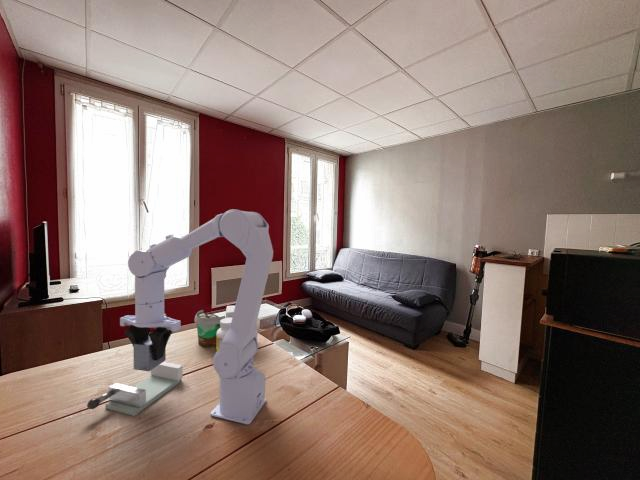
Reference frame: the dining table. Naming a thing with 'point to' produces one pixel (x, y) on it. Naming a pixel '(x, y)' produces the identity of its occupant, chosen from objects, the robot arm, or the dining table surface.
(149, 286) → the robot arm
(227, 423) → the dining table surface
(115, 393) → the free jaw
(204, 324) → the food container
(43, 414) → the dining table surface
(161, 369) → the base
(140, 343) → the block
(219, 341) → the supplement bottle
